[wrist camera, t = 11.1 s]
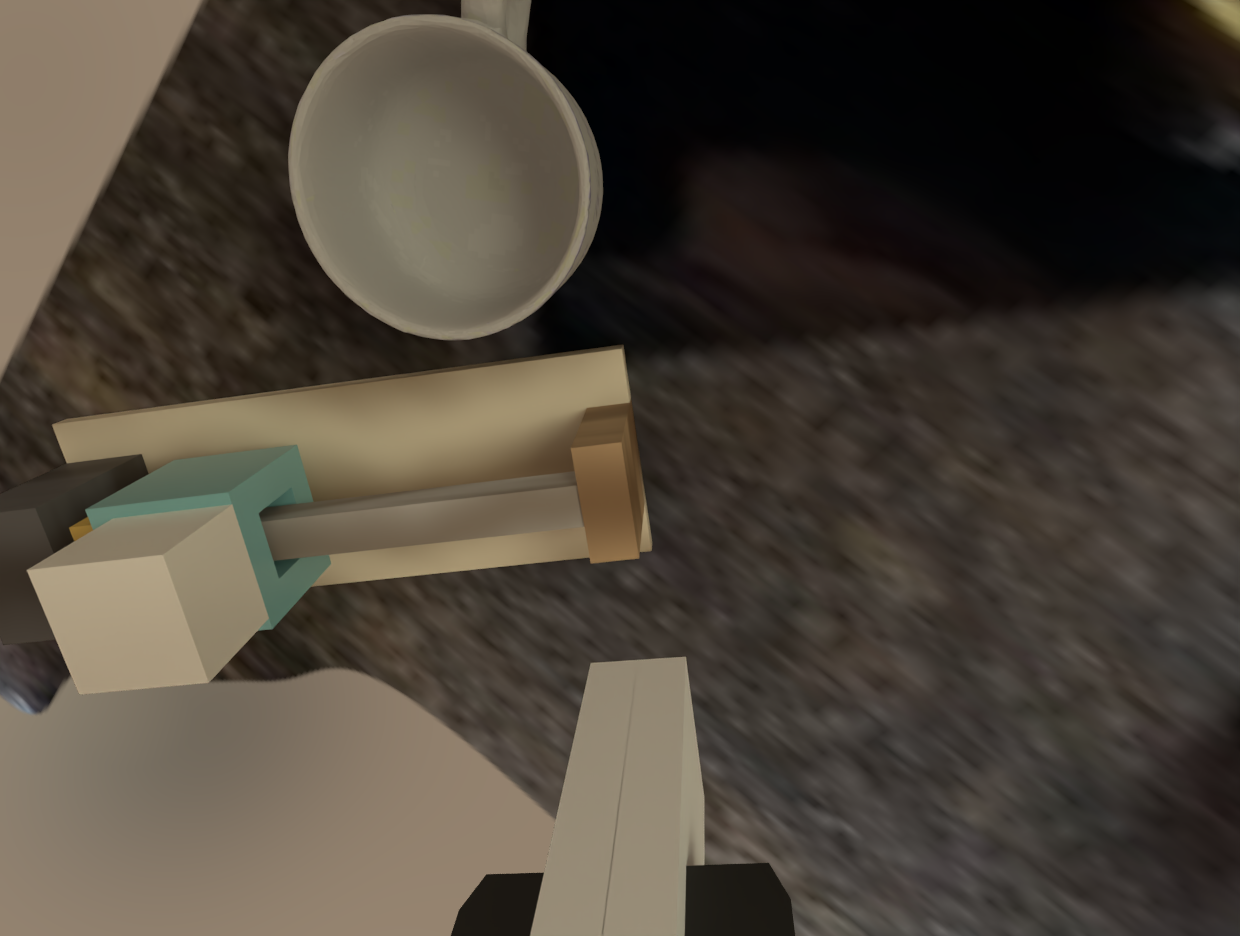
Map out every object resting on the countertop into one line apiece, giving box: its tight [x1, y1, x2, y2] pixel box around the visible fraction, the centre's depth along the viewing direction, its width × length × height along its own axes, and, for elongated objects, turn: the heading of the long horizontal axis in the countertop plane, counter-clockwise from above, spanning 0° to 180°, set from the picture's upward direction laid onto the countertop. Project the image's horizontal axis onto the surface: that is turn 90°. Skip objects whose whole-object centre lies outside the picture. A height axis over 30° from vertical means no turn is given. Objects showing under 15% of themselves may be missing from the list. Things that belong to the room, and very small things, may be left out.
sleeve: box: [27, 445, 331, 695], centre depth 33 cm, size 6×6×10 cm
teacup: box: [288, 0, 603, 340], centre depth 31 cm, size 14×11×8 cm
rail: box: [0, 345, 652, 645], centre depth 37 cm, size 10×28×8 cm, turn 98°
